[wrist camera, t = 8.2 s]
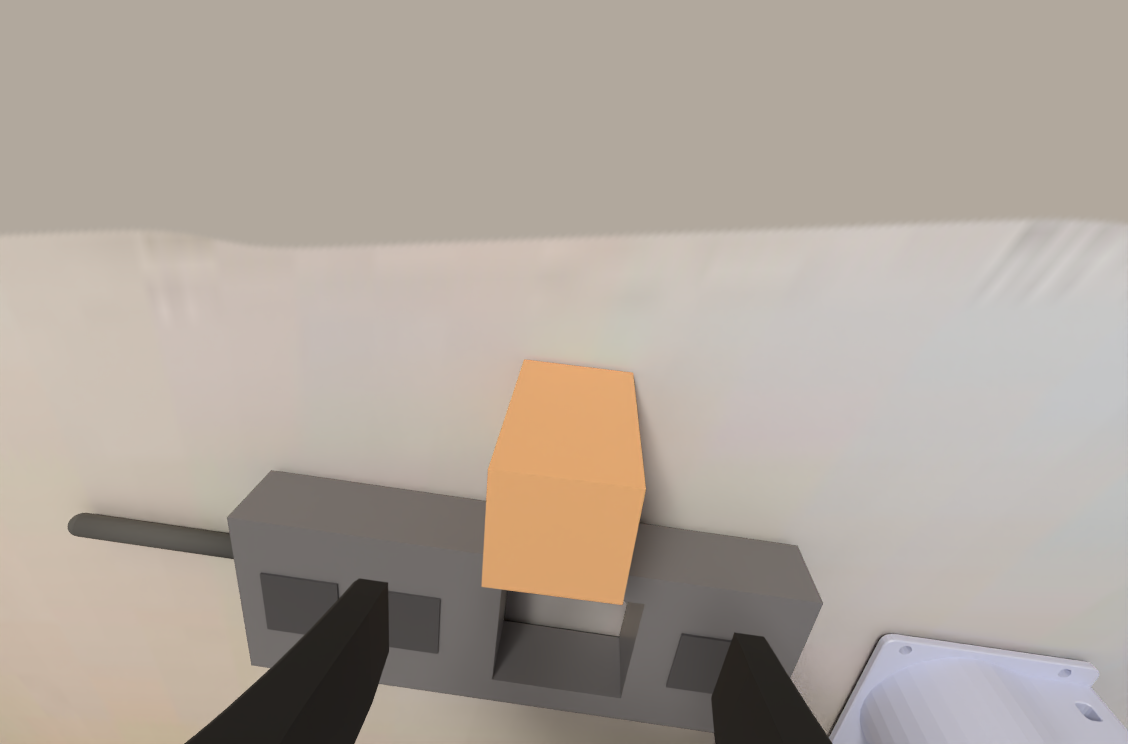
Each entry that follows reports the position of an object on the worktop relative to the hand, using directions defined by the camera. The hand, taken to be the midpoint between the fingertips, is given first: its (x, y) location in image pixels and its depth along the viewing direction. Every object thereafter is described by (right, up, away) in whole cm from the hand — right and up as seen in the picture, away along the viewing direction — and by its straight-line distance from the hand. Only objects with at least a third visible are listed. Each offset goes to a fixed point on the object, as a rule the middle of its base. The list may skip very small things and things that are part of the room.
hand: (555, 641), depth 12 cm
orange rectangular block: (0, +4, +10) cm, 10 cm away
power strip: (-6, -3, +13) cm, 15 cm away
